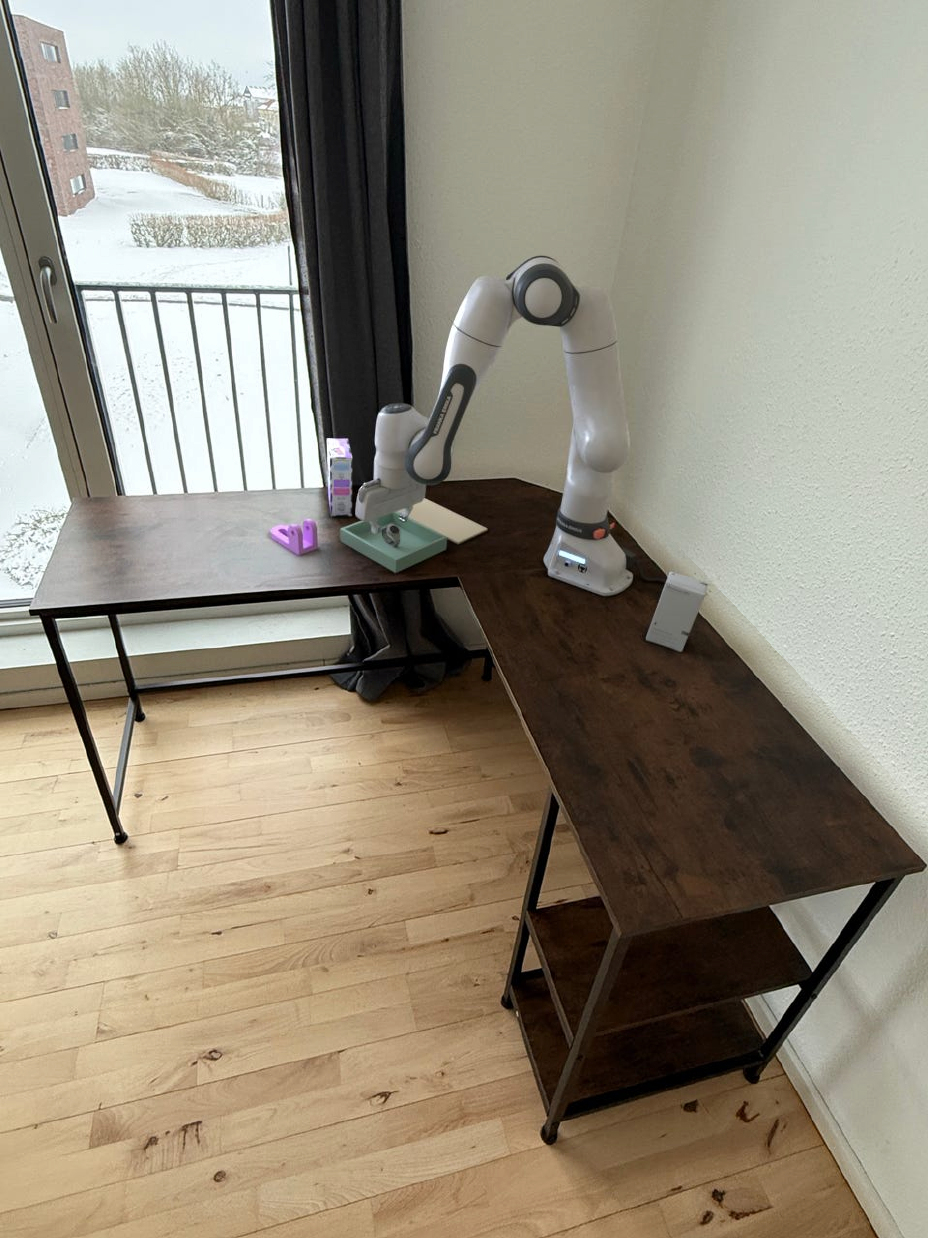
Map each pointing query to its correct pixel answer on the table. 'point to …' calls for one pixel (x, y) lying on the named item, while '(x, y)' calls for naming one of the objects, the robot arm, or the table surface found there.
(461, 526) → the mat
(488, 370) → the robot arm
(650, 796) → the table surface
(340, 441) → the candy box
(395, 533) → the wristwatch
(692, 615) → the cosmetic box
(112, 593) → the table surface
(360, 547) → the tray
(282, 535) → the bracket
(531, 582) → the table surface
